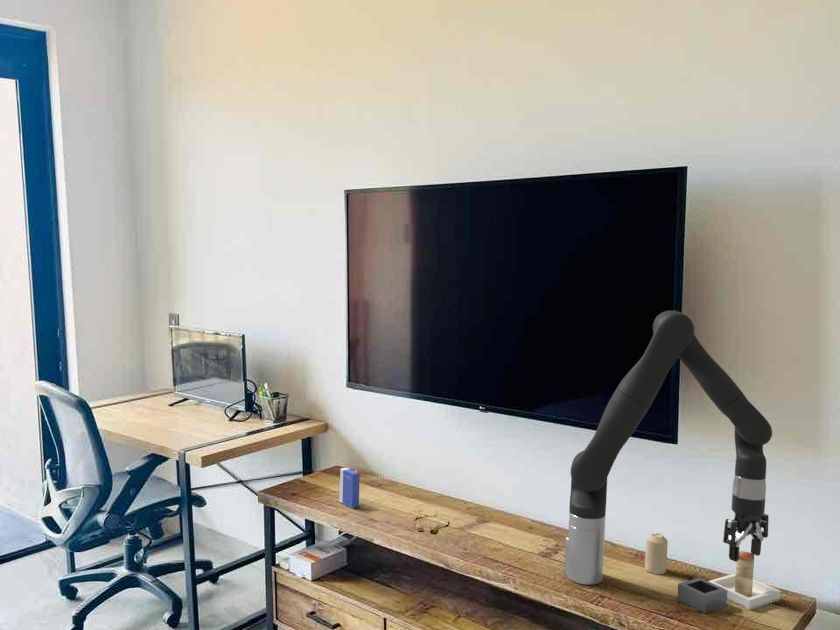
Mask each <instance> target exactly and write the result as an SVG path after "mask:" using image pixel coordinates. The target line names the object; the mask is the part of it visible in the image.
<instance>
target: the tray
mask: <svg viewBox="0 0 840 630" xmlns="http://www.w3.org/2000/svg"><path fill="white" fill-rule="evenodd" d="M735 576H736V572H735V573H732V574H728V575H724V576H721V577H718V578H715V579H711V580H708V581H709V582H711V583H713V584H715V585H717V586H720V587H722V588H724V589H726V590H727V602H730V603H732V602H733V604H734V603H735V605H736V604H737V605H736V606H739V607H740V608H743V609H745V610H748V611H751V610H755V609H757V608H761V607H764V606H766V604H767V605H770V604H773V603H776V602H779V601H781V590H780V589H778V588H776V587H773V586H771V585H768V584H766V583H764V582H760V580H759V581H758V580H756V579H754V578H753V585H752V596H750V597H746V596H744V595H741V594H739V593H737V592H735ZM775 601H776V602H775ZM772 602H773V603H772ZM769 603H770V604H769ZM763 605H764V606H763Z"/></svg>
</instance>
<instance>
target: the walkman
mask: <svg viewBox="0 0 840 630" xmlns="http://www.w3.org/2000/svg"><path fill="white" fill-rule="evenodd" d="M339 469H340V474H339V497H338V498H339V499H338V501H339V502H341V503H343V504H345V505H347V506H349V507H348V508H350V507H351V508H350V509H352V508H353V507H358V506H359V507H360V481H361V479H360V478H361V476H360V474H361V473H360V472H358V471H359V470H353V469H351V468H349V467H344V468H339ZM341 503H340V504H341ZM343 504H342V505H343ZM345 505H344V506H345ZM347 506H346V507H347ZM359 507H358V508H359ZM353 509H354V508H353Z"/></svg>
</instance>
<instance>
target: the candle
mask: <svg viewBox="0 0 840 630" xmlns="http://www.w3.org/2000/svg"><path fill="white" fill-rule="evenodd" d="M645 539H646V540H645V556H644V557H645V560H644V568H645V569H646V570H647V571H648V572H647V571H646V570H645V569H644V570H645V571H646V572H647V573H649V572H650V574H652V573H653V574H652V575H664V573H665V574H666V573H667V562H668V561H667V560H668V545H669V543H668V542H669V541H668V539H667V538H666V537H665V536H664V535H663V533H661V532H660V533H659V532H656V533H654V534H653V533H652V534H649V535H648V536H647V537H646V538H645Z"/></svg>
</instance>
